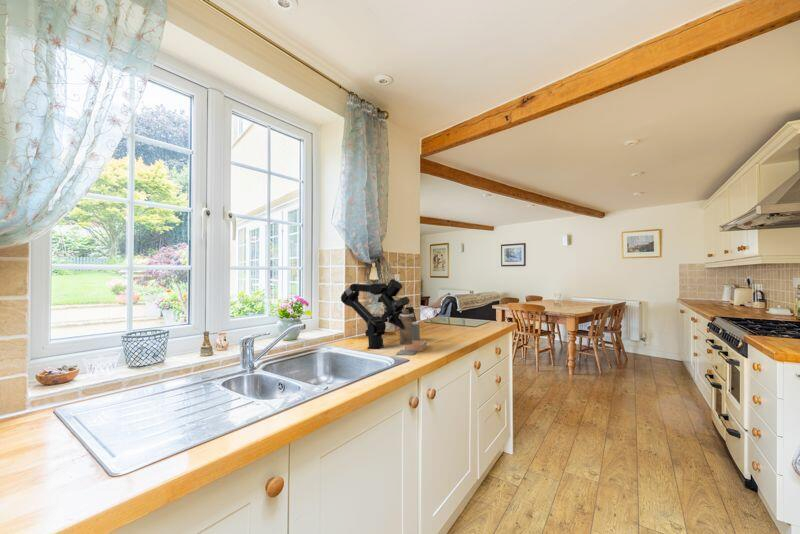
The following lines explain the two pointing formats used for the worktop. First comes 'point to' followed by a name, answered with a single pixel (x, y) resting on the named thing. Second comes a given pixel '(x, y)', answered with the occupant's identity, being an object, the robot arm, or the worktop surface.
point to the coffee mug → (415, 331)
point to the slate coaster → (406, 352)
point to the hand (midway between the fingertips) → (408, 327)
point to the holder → (416, 345)
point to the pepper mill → (406, 327)
